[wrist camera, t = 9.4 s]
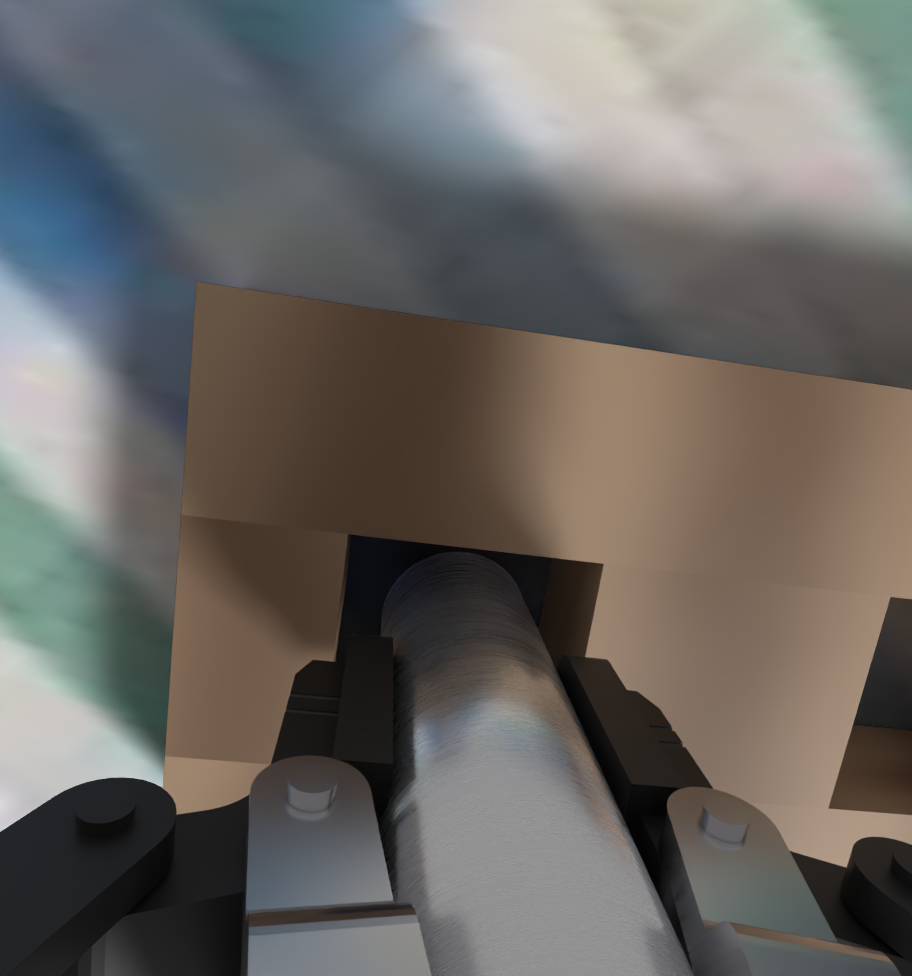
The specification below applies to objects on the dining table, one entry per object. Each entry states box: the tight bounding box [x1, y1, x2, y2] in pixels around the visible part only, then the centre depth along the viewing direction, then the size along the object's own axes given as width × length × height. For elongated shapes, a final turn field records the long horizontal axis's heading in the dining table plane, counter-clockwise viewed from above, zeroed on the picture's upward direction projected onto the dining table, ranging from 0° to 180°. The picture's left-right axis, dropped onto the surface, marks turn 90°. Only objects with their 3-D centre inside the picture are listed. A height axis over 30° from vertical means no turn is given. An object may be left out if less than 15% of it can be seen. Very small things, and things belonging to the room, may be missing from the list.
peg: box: [378, 552, 695, 976], centre depth 10 cm, size 3×3×10 cm
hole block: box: [163, 282, 912, 868], centre depth 15 cm, size 20×12×4 cm, turn 82°
